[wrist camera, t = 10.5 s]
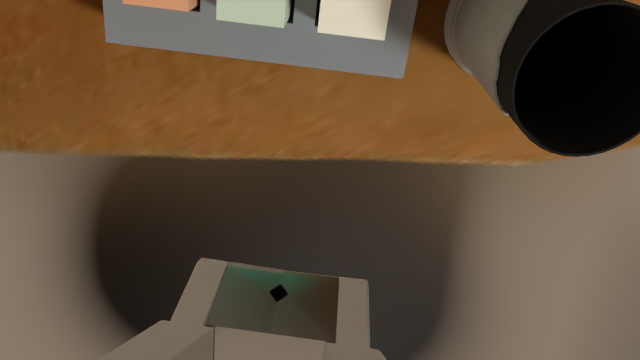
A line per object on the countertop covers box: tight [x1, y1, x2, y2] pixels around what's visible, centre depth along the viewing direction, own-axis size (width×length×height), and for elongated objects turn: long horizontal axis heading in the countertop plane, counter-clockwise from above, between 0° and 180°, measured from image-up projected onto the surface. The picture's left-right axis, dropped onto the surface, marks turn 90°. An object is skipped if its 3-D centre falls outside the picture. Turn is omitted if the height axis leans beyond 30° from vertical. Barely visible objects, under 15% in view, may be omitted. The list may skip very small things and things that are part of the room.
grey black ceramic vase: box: [444, 0, 640, 157], centre depth 30 cm, size 9×14×15 cm, turn 91°
